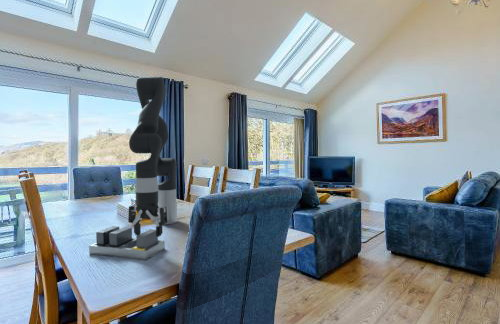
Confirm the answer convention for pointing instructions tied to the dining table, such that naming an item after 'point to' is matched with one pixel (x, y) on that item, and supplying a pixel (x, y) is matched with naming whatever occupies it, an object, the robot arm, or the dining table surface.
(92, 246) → the rack
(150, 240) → the grey block
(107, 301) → the dining table surface
